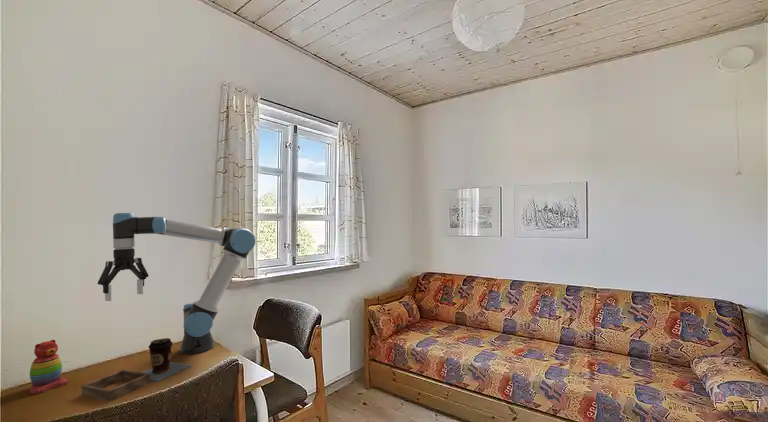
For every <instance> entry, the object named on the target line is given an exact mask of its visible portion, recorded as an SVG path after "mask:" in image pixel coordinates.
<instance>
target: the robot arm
mask: <svg viewBox="0 0 768 422" xmlns="http://www.w3.org/2000/svg"><path fill="white" fill-rule="evenodd" d="M112 217H113V219H112V234H113V235H112V236H113V237H112V239H113V241H112V243H113V261H112V260H111V261H110V260H106V261H105V267H104V268H103V271H102V273H101V275H100V277H99V279H98V280H97V285H100V286H102V293H103V294H104V301H105V302H111V301H112V285H111V282H112V281H113V280H114V279H115V277H116V276H117V275H118V274H119V273H120V272H121V271H125V270H130V271H131V272H132V273H133V274H134V275H135V276H136V277H137V279H136V291H137V292H136V293H137V295H144V287H145V280H146V279H147V278H148V277H149V276H150V274H148V273H149V272H148V271H147V270H146V269H147V268H145V265H144V264H143V260H142V257H135V254H136V252H135V248H134V247H135V235H149V234H151V235H152V234H153V235H154V234H156V235H163V236H169V237H174V238H180V239H181V238H182V239H188V240H194V241H201V242H206V243H207V242H208V243H214V244H217V245H219V246H221V247H223V248H222V251H223V256H221V259H220V260H219V263H218V265H217V266H216V269H215V270H214V272H213V273H212V275H211V276H210V280H209V281H208V282H207V285H206V287H205V288H204V291H203V292H202V294H201V296H200V297H199V299H198V300H196V301H194V302H189V303H186V304H184V305H183V309H182V311H183V337H182V340H181V341H182V342H181V344H180V347H179V349H180V350H179V351H180V353H181V354H187V355H191V354H192V355H193V354H199V353H203V352H206V351H209V350H212V349H213V348H215V347H214V346H215V340H214V338H213V336H212V333H211V330H212V328H213V324H214V321H215V318H216V316H217V314H218V312H219V309H218V305H220V304H219V303H220V302H221V300H222V298H223V296H224V294H225V292H226V290H227V289H228V286H229V285H230V283H231V280H232V278H233V277H234V275H235V273H236V271H237V270H238V268H239V266H240V264H241V262H242V261H244V260H246V259H247V257H248V256H249V253H250V252H251V251H252V250H253V249H254V247H255V245H256V236H255V235H254V232H252V231H251V230H250V229H247V228H245V227H244V228H243V227H242V228H240V227H239V228H228V227H222V228H217V227H212V226H205V225H199V224H194V223H189V222H181V221H176V220H171V219H170V220H169V219H166V217H164V216H142V217H141V216H140V217H138V216H135V214H134V212H115V213H114V214H113V216H112ZM134 263H135V264H136V265H135V264H134Z"/></svg>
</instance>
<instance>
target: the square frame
mask: <svg viewBox="0 0 768 422" xmlns="http://www.w3.org/2000/svg"><path fill="white" fill-rule="evenodd" d="M142 372H143V371H142ZM142 372H140V371H135V370H129V369H122V370H121V369H120V370H119V371H116V372H114V373H111V374H109V375H106V376H103V377H101V378H98V379H96V380H93V381H91V382H88V383H86V384H84V385H81V386H80V387H81V388H80V389H81V391H80V392H81V393H80V394H81V396H82V397H85V398H91V399H95V400H100V401H104V402H105V401H106V402H111V400H112V401H115V400H117V399H118V398H120V397H119V396H121V397H122V395H123V396H125V395H127V394H129V393H131V392H133V391H136V390H137V389H139V388H140V389H141V388H142V387H144V386H146V384H147V385H148V384H150V383H151V381H150V374H148V373H142ZM120 381H127V382H126V383H123V384H120V385H119V386H116V387H113V388H112V389H110V388H109V389H108V388H106V387H108V386H110V385H114V384H115V383H117V382H120ZM117 397H118V398H117Z"/></svg>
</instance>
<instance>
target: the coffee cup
mask: <svg viewBox="0 0 768 422" xmlns="http://www.w3.org/2000/svg"><path fill="white" fill-rule="evenodd" d="M172 346H173V341H172V340H171V338H169V337H167V338H166V337H164V338H159V339H154V340H152V341H150V344H149V346H148V349H149V357H150V365H151V366H152V368H153V370H152V373H155V374H157V373H164V372H167V371H169V370H170V368H169V364H170V362H171V357H172Z"/></svg>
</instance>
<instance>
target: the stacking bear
mask: <svg viewBox="0 0 768 422" xmlns="http://www.w3.org/2000/svg"><path fill="white" fill-rule="evenodd" d="M33 350H34V352H33V353H34V355H35V357H36V358H34V360H33V361H32V362H31V364H30V370H29V379H30V381H31V384H32V385H31V386H30V387H29V393H30V394H31V395H39V394H42V393H44V392H47V391H48V390H52V389H54V388H59V387H63V386H65V385H67V384H68V382H69V381H68V380H67V379H66V378H64V377H61V374H62V371H63V370H62V369H63V364H62V363H63V362H62V361H61V357H60V356H59V354H58V350H59V346H58V344H57V343H56V340H55V339H51V340H48V341H43V342H40V343H36V344H35V345H34V349H33Z"/></svg>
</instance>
